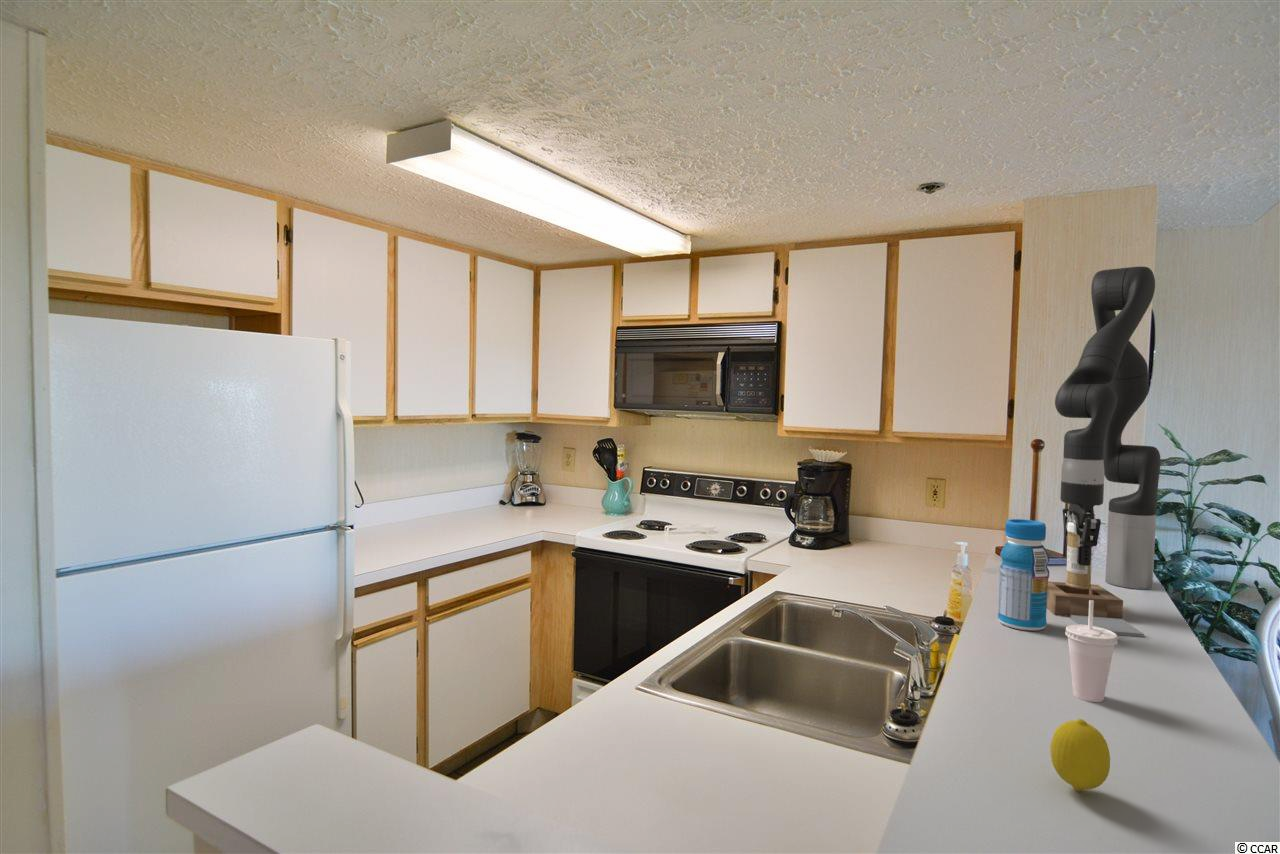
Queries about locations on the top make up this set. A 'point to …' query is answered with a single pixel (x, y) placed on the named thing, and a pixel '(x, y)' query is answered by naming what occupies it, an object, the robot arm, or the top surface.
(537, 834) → the top surface
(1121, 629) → the slate pad
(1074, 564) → the sprinkles bottle
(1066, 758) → the lemon
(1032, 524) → the beverage bottle
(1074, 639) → the smoothie
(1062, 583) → the walnut socket block
